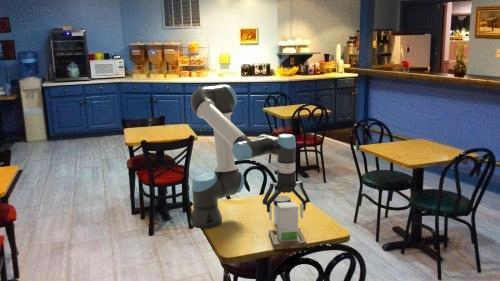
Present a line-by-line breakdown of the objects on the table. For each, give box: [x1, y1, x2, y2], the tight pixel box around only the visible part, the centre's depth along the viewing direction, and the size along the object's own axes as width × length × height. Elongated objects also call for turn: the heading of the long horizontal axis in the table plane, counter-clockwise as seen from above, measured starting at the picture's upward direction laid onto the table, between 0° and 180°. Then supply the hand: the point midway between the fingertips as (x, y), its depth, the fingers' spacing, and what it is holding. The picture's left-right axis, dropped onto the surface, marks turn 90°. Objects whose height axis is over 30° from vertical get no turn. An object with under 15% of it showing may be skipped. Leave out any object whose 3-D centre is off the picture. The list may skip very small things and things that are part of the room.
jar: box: [272, 195, 292, 226], centre depth 220 cm, size 9×8×12 cm
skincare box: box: [276, 201, 299, 242], centre depth 200 cm, size 8×7×16 cm
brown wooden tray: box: [268, 227, 308, 250], centre depth 202 cm, size 14×15×2 cm
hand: (286, 218), depth 200 cm, fingers open, 13 cm apart
